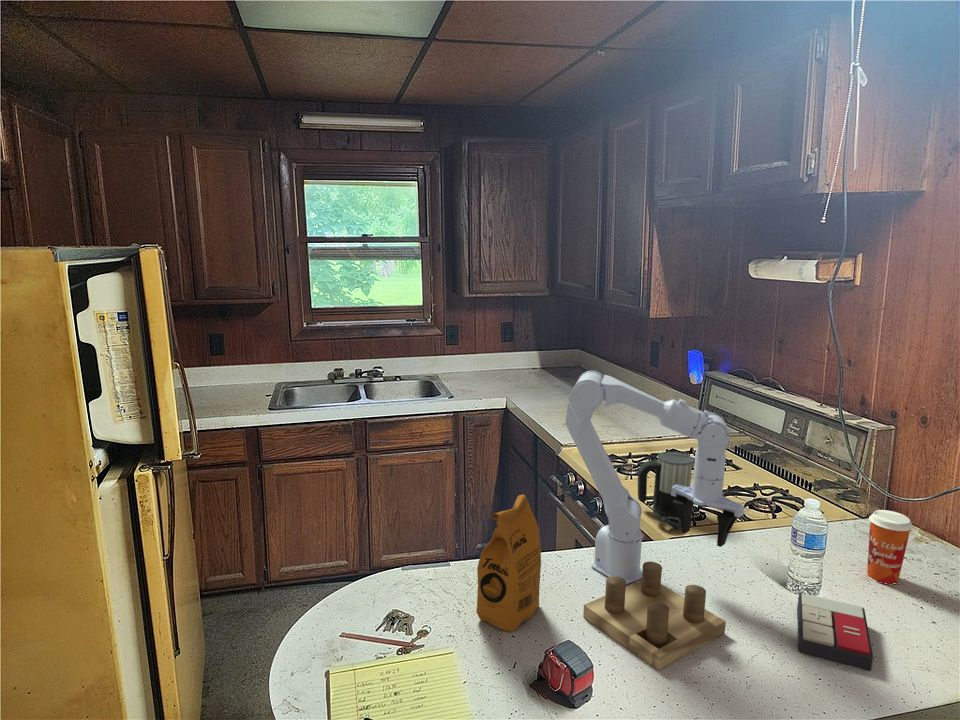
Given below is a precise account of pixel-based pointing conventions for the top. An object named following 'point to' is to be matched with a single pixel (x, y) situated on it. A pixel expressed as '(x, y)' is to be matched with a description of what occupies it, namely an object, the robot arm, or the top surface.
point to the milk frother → (665, 483)
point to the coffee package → (510, 569)
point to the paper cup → (887, 545)
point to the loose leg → (657, 624)
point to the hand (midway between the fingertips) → (703, 538)
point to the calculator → (833, 631)
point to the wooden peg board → (628, 616)
